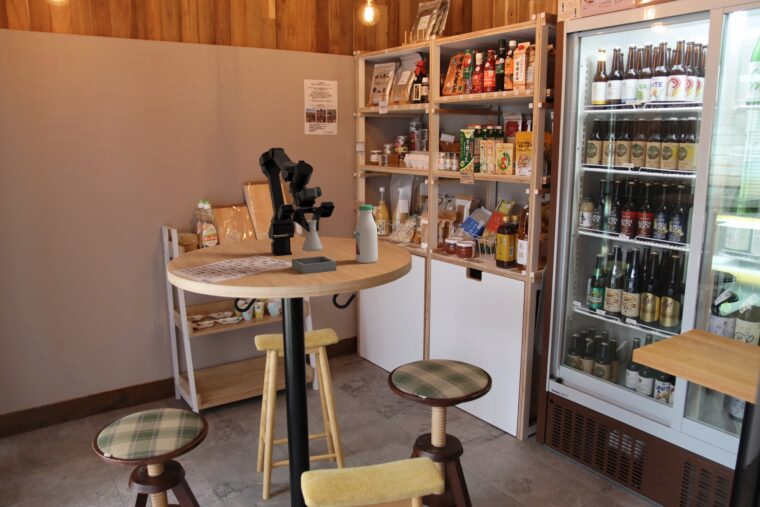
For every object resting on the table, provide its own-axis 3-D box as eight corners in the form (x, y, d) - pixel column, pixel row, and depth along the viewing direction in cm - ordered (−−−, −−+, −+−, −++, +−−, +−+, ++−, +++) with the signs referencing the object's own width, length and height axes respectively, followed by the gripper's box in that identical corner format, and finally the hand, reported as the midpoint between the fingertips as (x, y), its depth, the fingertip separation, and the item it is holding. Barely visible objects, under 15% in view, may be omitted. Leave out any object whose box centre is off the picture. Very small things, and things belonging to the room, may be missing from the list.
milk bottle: (380, 259, 219) (379, 204, 215) (373, 264, 212) (372, 206, 208) (360, 258, 221) (359, 203, 218) (352, 262, 214) (351, 206, 210)
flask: (298, 249, 205) (297, 220, 203) (318, 247, 209) (317, 218, 207) (306, 253, 199) (305, 222, 197) (327, 250, 202) (326, 220, 200)
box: (323, 264, 212) (323, 255, 212) (336, 270, 202) (336, 261, 202) (291, 267, 207) (291, 259, 207) (302, 274, 197) (302, 264, 197)
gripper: (278, 180, 198) (291, 217, 191) (331, 177, 207) (346, 213, 199) (272, 202, 207) (284, 238, 199) (323, 198, 215) (336, 234, 208)
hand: (313, 230), depth 201 cm, fingers closed on flask, 3 cm apart
